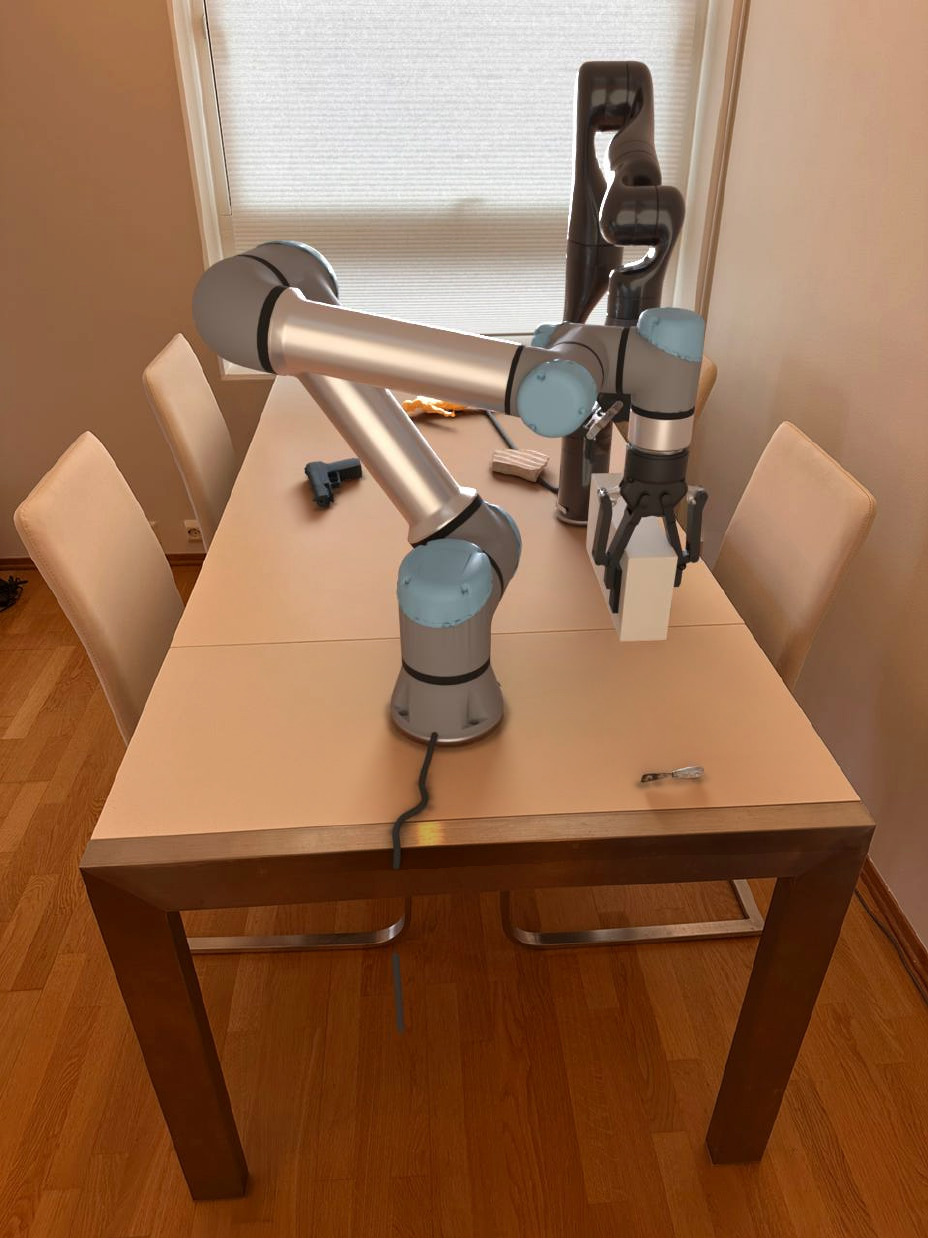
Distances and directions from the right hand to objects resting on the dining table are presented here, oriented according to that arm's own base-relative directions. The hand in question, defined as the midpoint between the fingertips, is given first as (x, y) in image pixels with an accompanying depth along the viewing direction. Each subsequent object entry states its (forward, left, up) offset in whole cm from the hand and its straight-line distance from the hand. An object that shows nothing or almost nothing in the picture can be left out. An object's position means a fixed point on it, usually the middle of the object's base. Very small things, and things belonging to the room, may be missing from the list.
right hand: (619, 460), depth 129 cm
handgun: (-49, -49, -26) cm, 74 cm away
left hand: (+19, +1, -13) cm, 23 cm away
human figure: (-98, -26, -26) cm, 104 cm away
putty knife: (+40, +3, -26) cm, 48 cm away
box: (+10, 0, -16) cm, 19 cm away
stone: (-58, -11, -26) cm, 64 cm away
